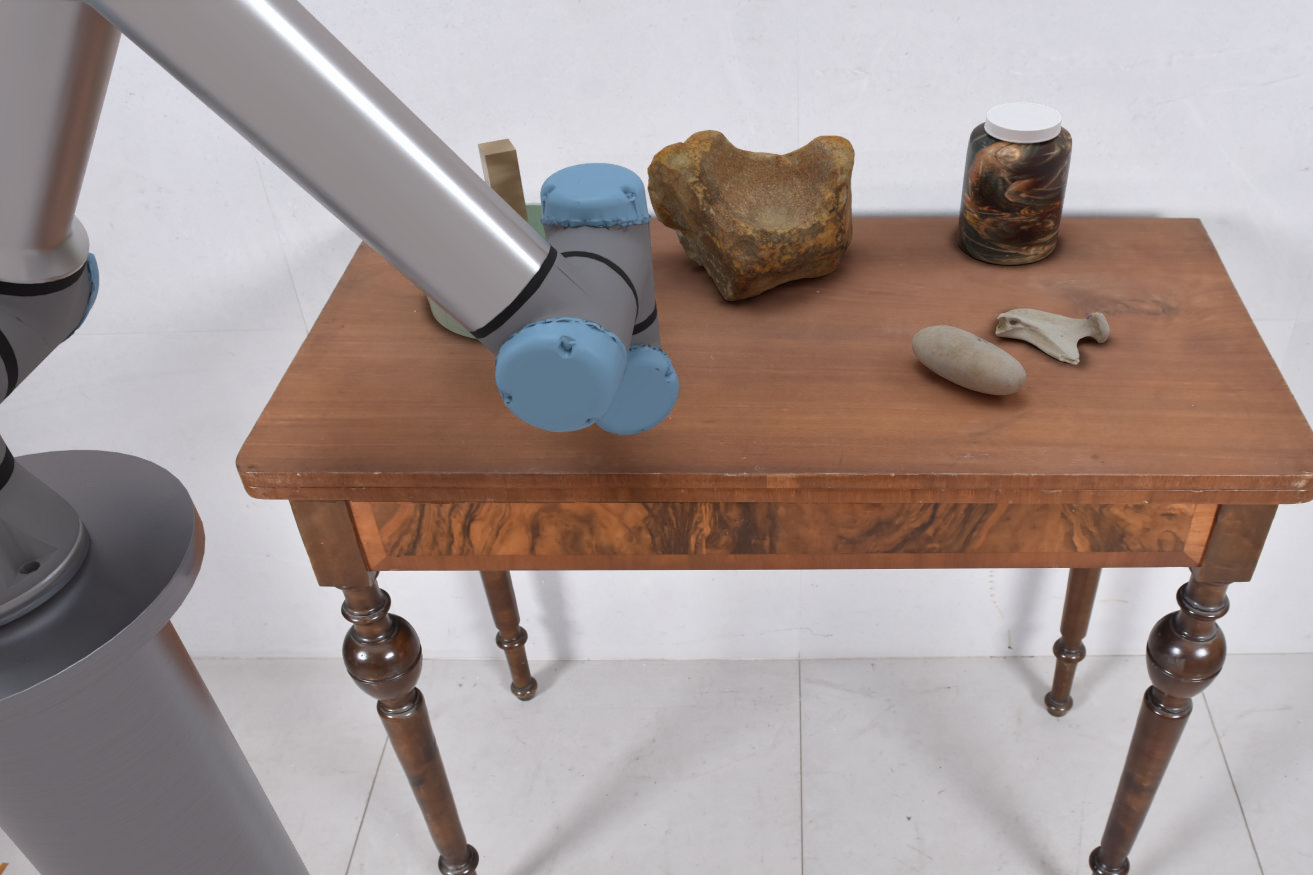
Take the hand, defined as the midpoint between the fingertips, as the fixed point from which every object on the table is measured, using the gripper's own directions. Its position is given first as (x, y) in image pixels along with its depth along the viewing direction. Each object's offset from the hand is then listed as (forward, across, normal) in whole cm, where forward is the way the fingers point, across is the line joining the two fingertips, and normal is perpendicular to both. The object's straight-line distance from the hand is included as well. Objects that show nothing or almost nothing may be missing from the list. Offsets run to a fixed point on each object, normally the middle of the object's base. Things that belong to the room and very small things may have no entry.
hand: (516, 209), depth 107 cm
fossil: (-27, +47, -13) cm, 56 cm away
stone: (-30, +35, -13) cm, 48 cm away
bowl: (+7, 0, -13) cm, 14 cm away
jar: (-7, +55, -13) cm, 57 cm away
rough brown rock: (-2, +25, -13) cm, 28 cm away
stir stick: (+6, 0, -12) cm, 14 cm away
